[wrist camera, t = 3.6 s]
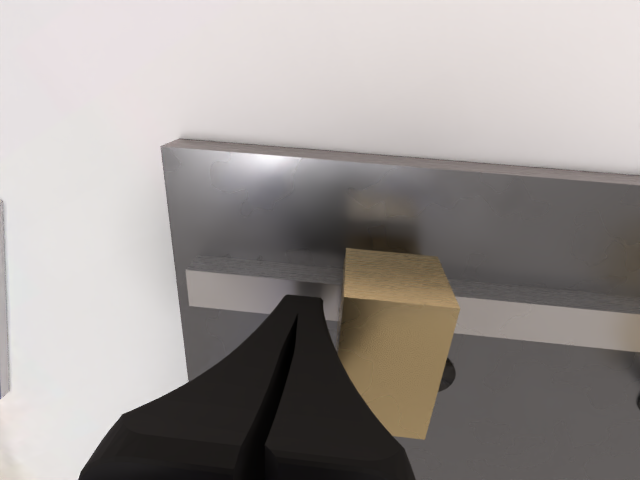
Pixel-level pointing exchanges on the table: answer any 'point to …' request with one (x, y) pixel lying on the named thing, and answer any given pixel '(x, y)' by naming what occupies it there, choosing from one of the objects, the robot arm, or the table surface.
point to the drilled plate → (463, 276)
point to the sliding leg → (396, 334)
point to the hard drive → (3, 316)
